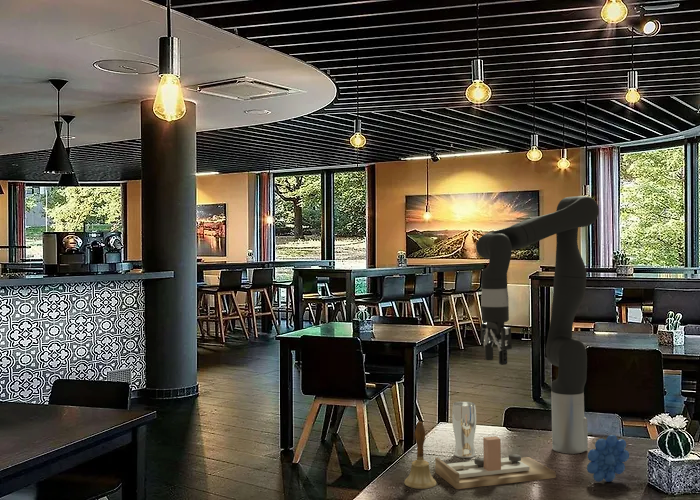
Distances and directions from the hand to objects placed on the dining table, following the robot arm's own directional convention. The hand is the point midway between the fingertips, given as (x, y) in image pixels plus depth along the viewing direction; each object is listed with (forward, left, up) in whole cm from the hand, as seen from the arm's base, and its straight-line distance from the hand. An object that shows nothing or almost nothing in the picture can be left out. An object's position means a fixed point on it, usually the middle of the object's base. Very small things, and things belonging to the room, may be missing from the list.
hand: (495, 362), depth 198 cm
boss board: (+6, +10, -28) cm, 30 cm away
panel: (+9, +10, -26) cm, 29 cm away
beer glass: (+6, -9, -28) cm, 30 cm away
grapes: (-19, +23, -28) cm, 41 cm away
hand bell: (+27, +10, -28) cm, 40 cm away
